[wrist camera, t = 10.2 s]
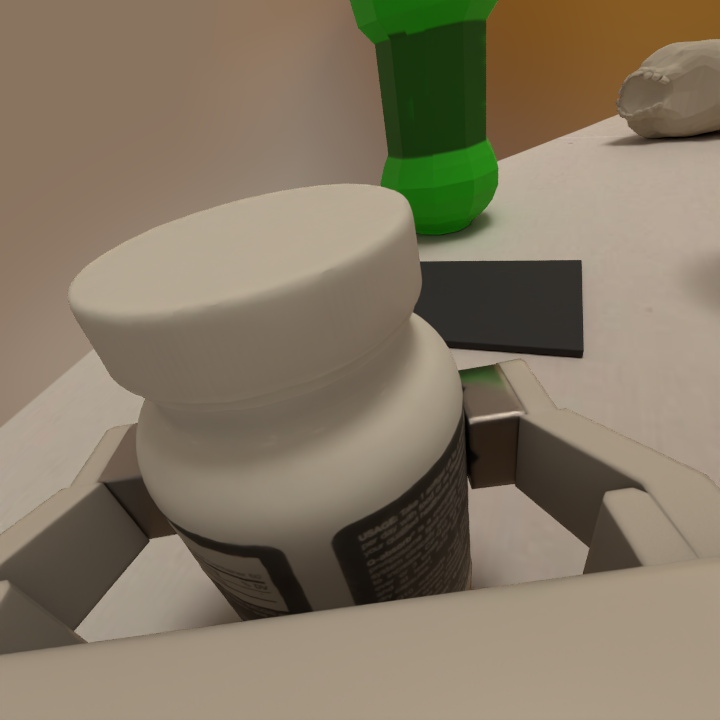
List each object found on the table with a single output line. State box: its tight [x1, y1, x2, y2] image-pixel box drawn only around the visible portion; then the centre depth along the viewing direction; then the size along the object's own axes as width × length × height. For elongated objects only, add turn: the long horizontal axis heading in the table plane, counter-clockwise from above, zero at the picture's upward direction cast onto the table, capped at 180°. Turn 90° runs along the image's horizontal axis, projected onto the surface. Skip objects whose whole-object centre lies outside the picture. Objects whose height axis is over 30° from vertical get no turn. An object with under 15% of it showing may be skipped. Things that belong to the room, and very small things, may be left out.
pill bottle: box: [68, 183, 472, 621], centre depth 9 cm, size 6×6×10 cm
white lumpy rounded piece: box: [616, 39, 720, 138], centre depth 45 cm, size 9×11×15 cm
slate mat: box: [413, 260, 584, 357], centre depth 26 cm, size 20×10×1 cm, turn 67°
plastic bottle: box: [350, 0, 498, 235], centre depth 30 cm, size 10×10×25 cm
